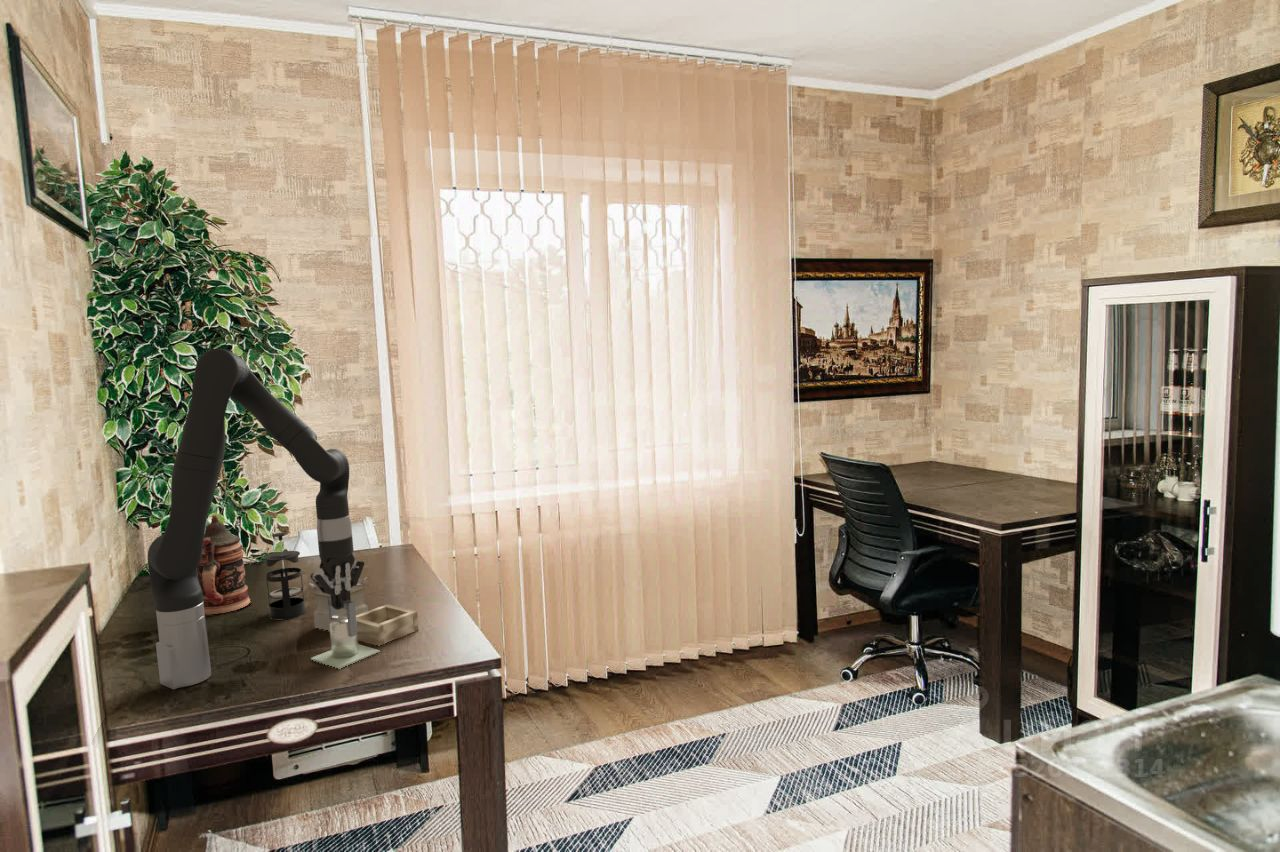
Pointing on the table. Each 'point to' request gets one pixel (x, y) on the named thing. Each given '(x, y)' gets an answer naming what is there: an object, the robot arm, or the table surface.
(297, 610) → the french press
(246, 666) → the table surface
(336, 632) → the pail
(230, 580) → the beer stein
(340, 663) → the mat
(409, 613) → the holder
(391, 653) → the table surface
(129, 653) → the table surface
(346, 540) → the robot arm
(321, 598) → the miniature monument
